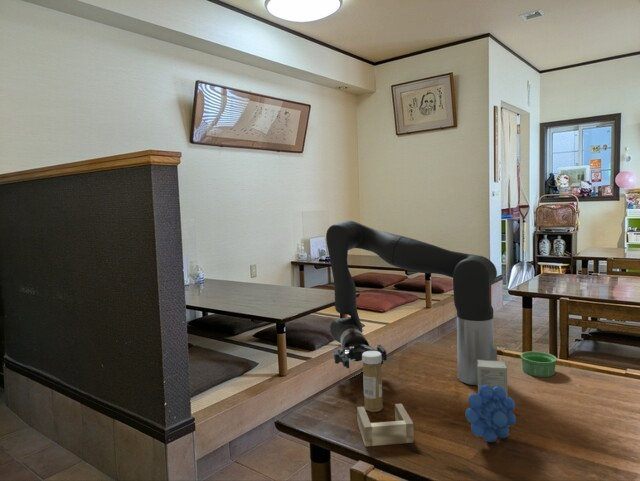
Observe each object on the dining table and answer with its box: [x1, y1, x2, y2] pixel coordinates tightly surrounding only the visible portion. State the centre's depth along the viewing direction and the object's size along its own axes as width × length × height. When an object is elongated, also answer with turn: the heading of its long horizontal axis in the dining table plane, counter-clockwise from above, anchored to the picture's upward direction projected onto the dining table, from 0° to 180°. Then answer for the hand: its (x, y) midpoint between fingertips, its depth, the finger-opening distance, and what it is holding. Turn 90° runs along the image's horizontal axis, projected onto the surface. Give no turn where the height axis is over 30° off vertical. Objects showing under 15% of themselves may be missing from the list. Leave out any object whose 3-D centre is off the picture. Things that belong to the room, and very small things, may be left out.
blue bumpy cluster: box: [465, 385, 517, 443], centre depth 88 cm, size 12×7×12 cm, turn 107°
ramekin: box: [520, 350, 558, 378], centre depth 123 cm, size 9×9×4 cm
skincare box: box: [477, 360, 509, 397], centre depth 99 cm, size 6×4×12 cm
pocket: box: [356, 403, 415, 447], centre depth 94 cm, size 10×9×4 cm
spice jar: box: [361, 351, 384, 413], centre depth 105 cm, size 5×5×13 cm
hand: (364, 363), depth 116 cm, fingers open, 8 cm apart
